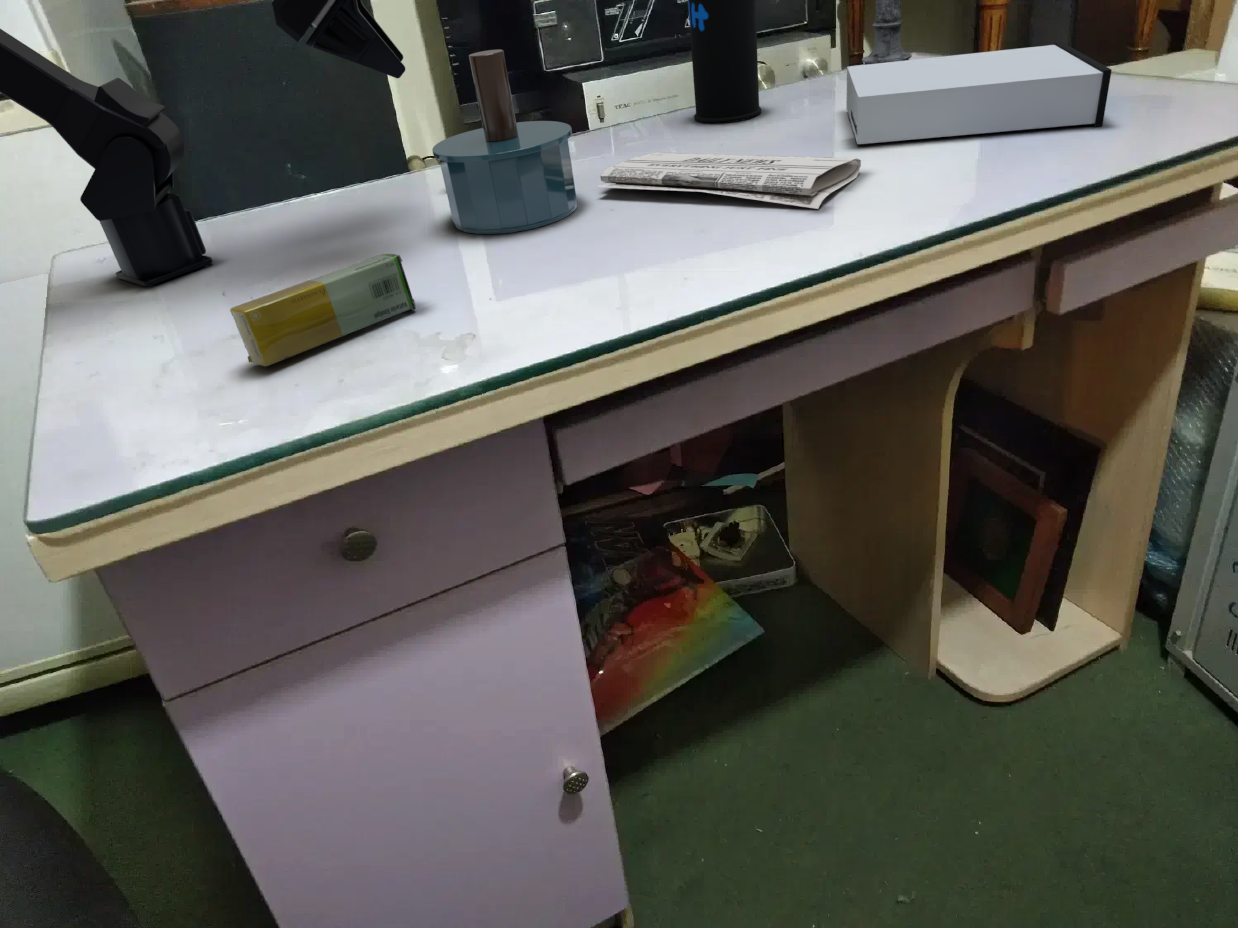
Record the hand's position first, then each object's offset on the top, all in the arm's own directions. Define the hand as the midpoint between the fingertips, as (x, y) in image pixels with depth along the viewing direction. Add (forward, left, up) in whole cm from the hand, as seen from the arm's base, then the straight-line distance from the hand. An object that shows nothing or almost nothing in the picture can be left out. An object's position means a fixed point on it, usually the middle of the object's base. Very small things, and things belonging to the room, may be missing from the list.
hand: (401, 67), depth 76 cm
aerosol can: (+43, -5, -14) cm, 45 cm away
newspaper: (+17, -22, -14) cm, 31 cm away
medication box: (-22, -15, -14) cm, 30 cm away
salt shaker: (+59, -18, -14) cm, 63 cm away
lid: (+4, -7, -7) cm, 11 cm away
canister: (+4, -7, -14) cm, 16 cm away
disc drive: (+45, -33, -14) cm, 57 cm away
